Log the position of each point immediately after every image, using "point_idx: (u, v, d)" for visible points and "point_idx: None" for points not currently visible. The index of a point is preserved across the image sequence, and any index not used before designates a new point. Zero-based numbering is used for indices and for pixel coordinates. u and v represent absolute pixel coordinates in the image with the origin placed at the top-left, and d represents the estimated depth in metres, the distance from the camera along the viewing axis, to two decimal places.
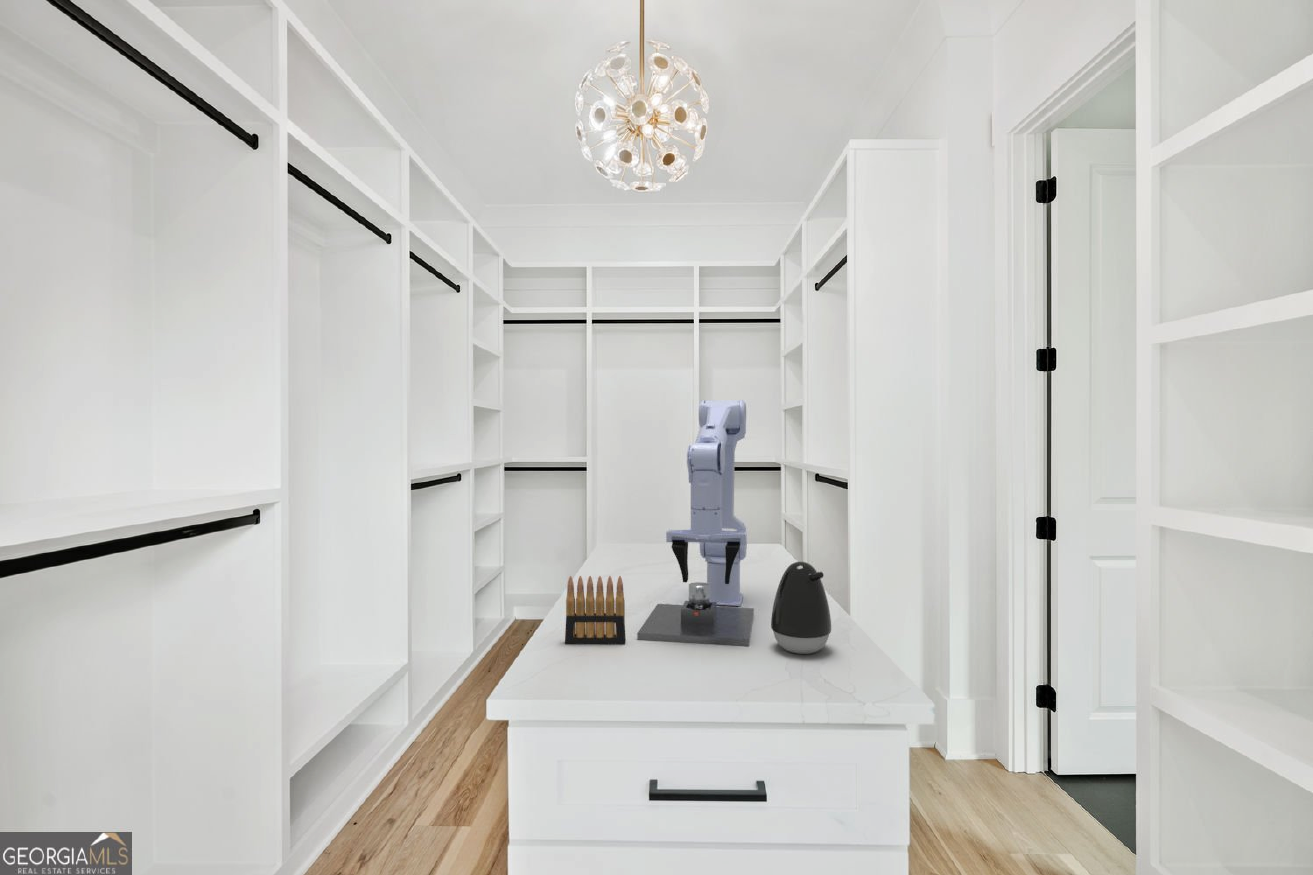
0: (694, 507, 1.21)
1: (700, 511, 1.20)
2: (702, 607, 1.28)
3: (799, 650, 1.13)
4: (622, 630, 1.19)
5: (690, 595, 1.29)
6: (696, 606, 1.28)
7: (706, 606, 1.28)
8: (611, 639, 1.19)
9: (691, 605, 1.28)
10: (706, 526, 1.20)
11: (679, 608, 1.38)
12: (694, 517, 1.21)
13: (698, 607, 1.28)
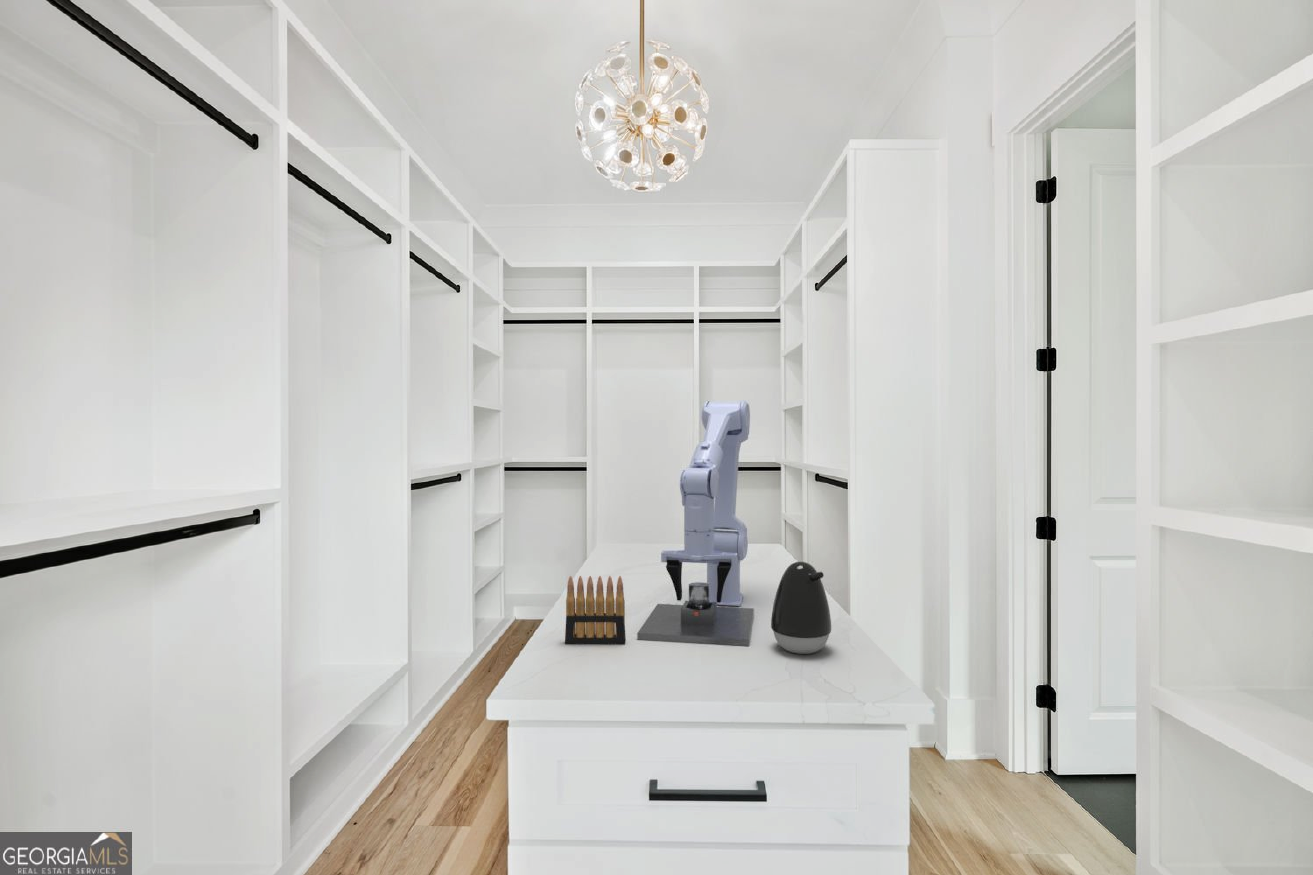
0: (686, 529, 1.28)
1: (693, 533, 1.27)
2: (702, 607, 1.28)
3: (799, 650, 1.13)
4: (622, 630, 1.19)
5: (690, 595, 1.29)
6: (696, 606, 1.28)
7: (706, 606, 1.28)
8: (611, 639, 1.19)
9: (691, 605, 1.28)
10: (699, 548, 1.27)
11: (679, 608, 1.38)
12: (688, 538, 1.28)
13: (698, 607, 1.28)
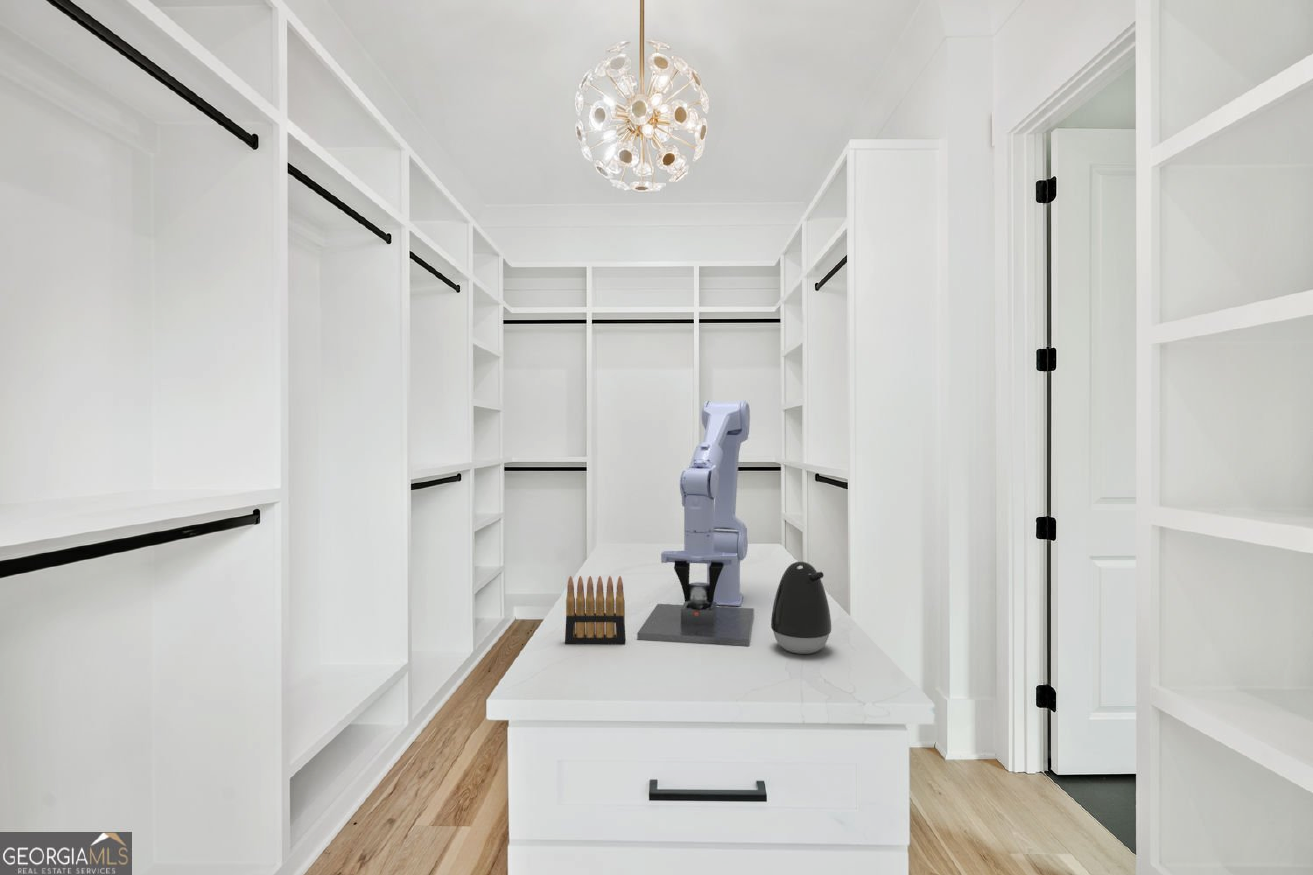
0: (686, 529, 1.28)
1: (693, 534, 1.27)
2: (702, 607, 1.28)
3: (799, 650, 1.13)
4: (622, 630, 1.19)
5: (690, 595, 1.29)
6: (696, 606, 1.28)
7: (706, 606, 1.28)
8: (611, 639, 1.19)
9: (691, 605, 1.28)
10: (699, 548, 1.27)
11: (679, 608, 1.38)
12: (688, 539, 1.28)
13: (698, 607, 1.28)
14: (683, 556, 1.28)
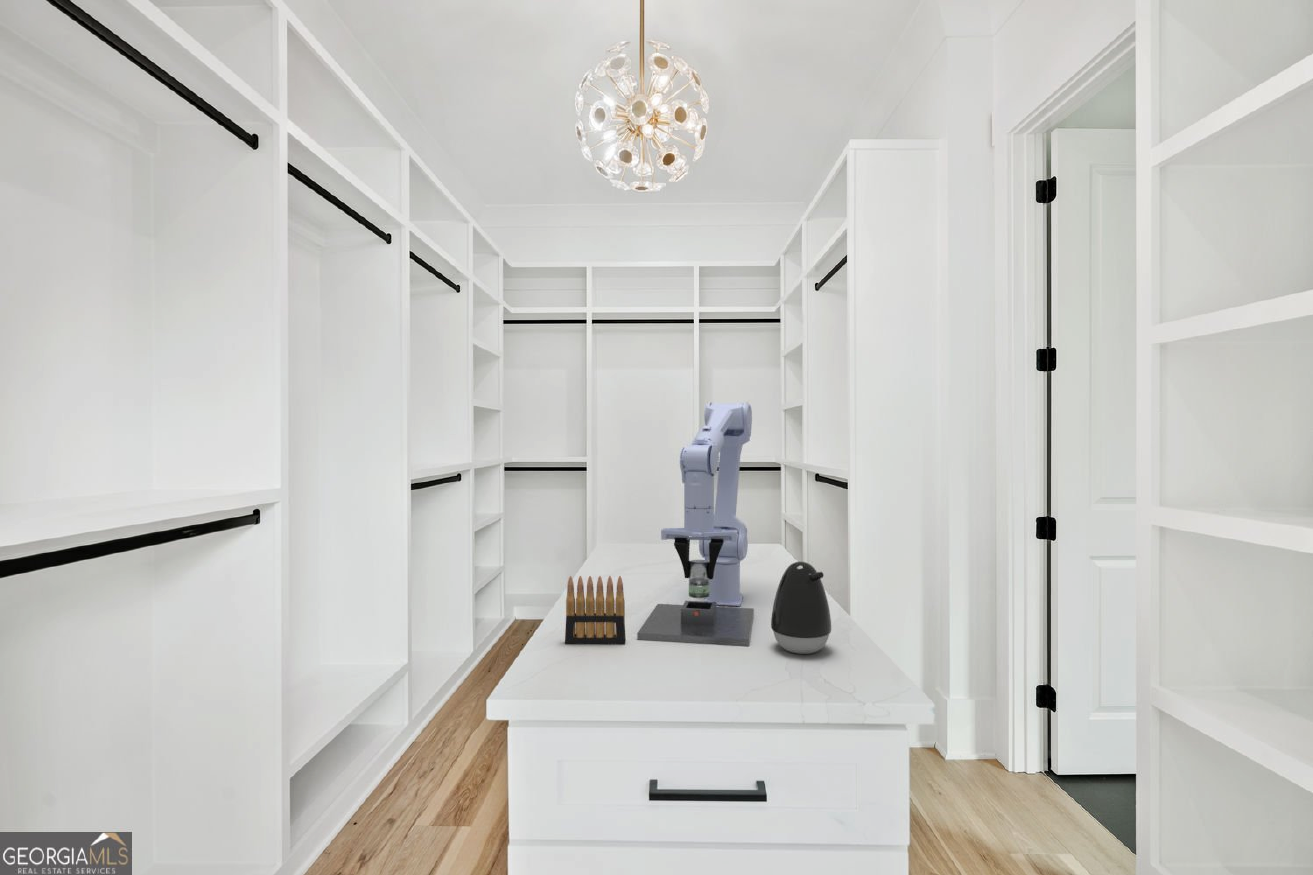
0: (686, 506, 1.28)
1: (693, 510, 1.27)
2: (702, 584, 1.28)
3: (799, 650, 1.13)
4: (622, 630, 1.19)
5: (690, 572, 1.29)
6: (696, 583, 1.28)
7: (706, 583, 1.28)
8: (611, 639, 1.19)
9: (691, 582, 1.28)
10: (699, 524, 1.26)
11: (679, 608, 1.38)
12: (688, 515, 1.27)
13: (698, 584, 1.28)
14: (683, 532, 1.28)
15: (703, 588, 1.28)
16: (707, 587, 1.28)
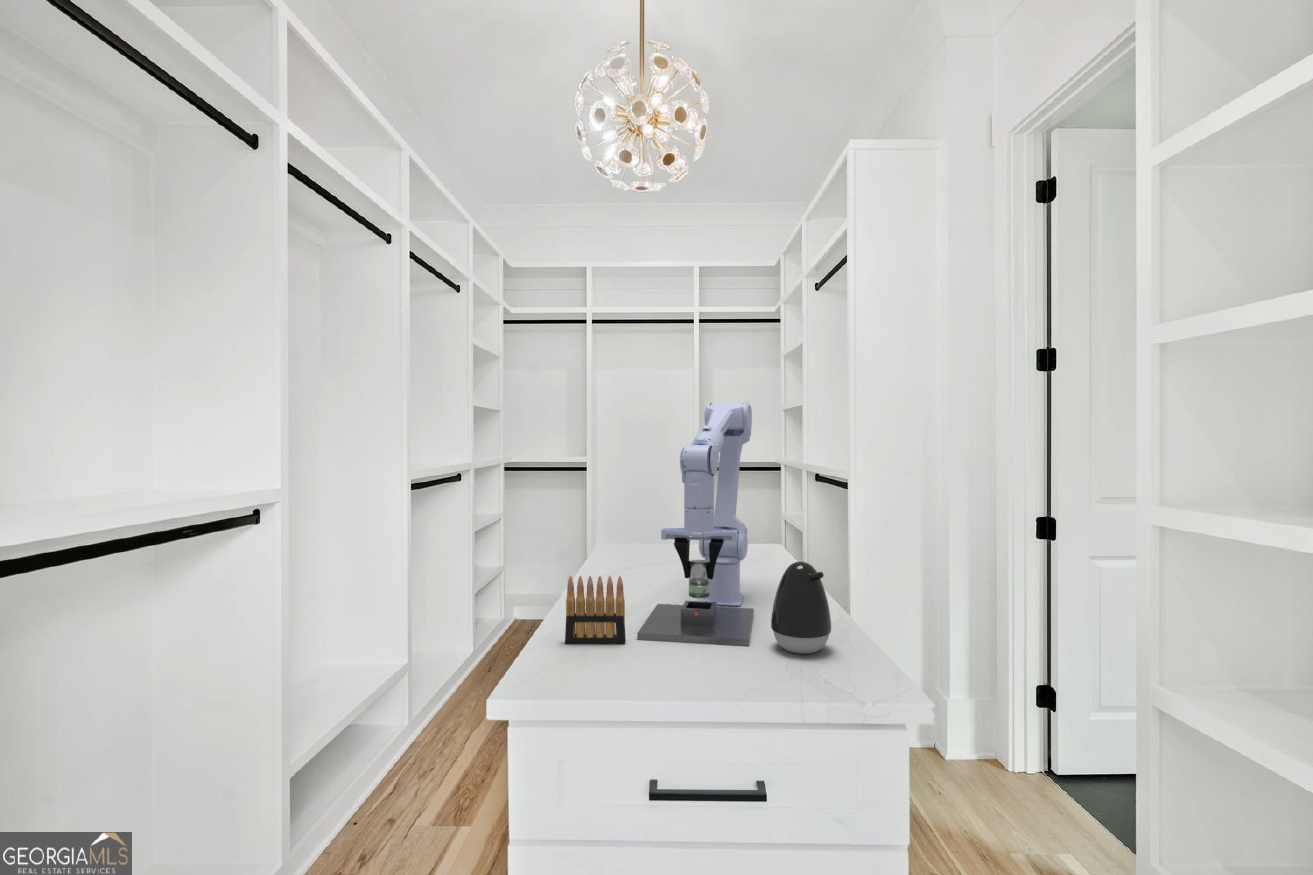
0: (686, 506, 1.28)
1: (693, 510, 1.27)
2: (702, 584, 1.28)
3: (799, 650, 1.13)
4: (622, 630, 1.19)
5: (690, 572, 1.29)
6: (696, 583, 1.28)
7: (706, 583, 1.28)
8: (611, 639, 1.19)
9: (691, 582, 1.28)
10: (699, 524, 1.26)
11: (679, 608, 1.38)
12: (688, 515, 1.27)
13: (698, 584, 1.28)
14: (683, 532, 1.28)
15: (703, 588, 1.28)
16: (707, 587, 1.28)
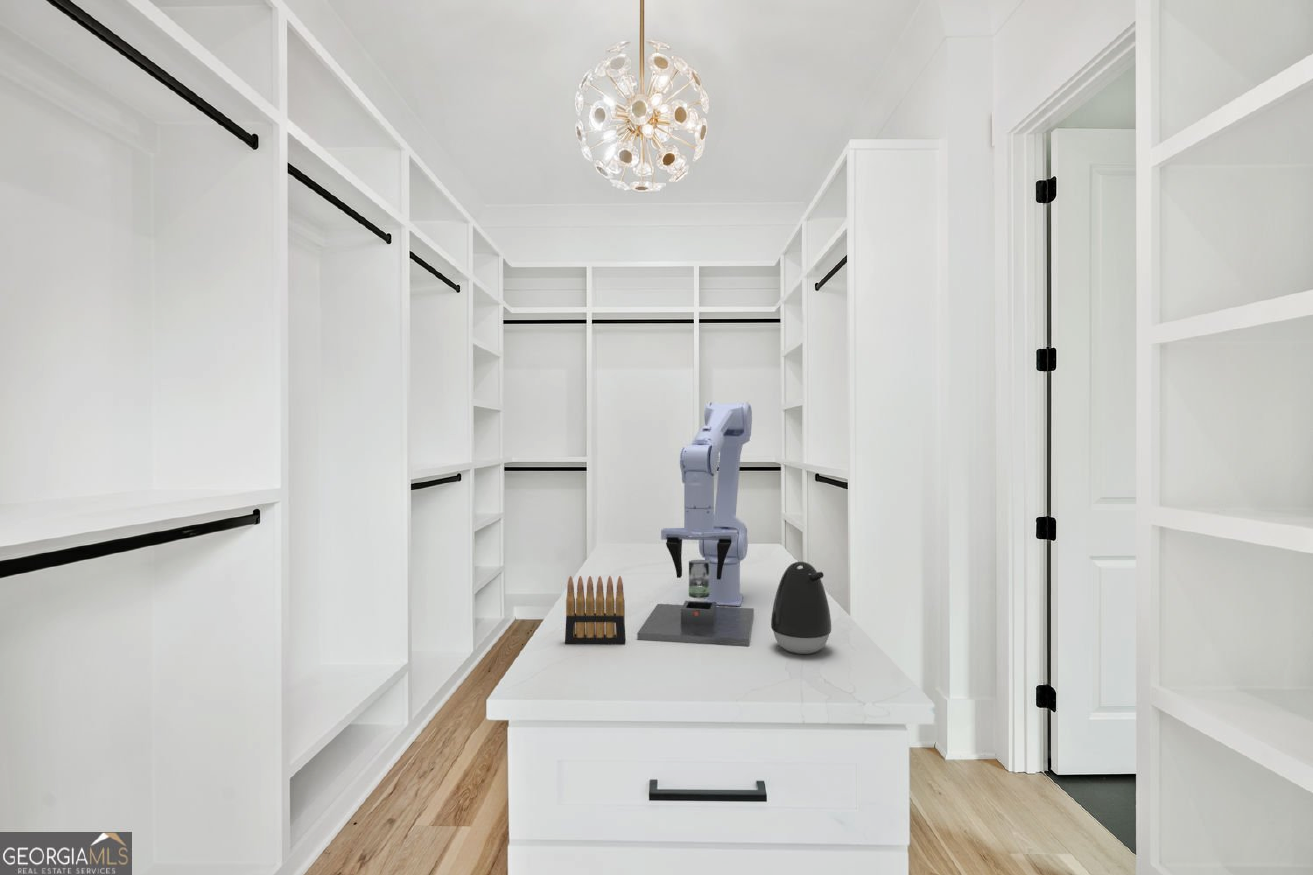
0: (686, 506, 1.28)
1: (693, 510, 1.27)
2: (702, 584, 1.28)
3: (799, 650, 1.13)
4: (622, 630, 1.19)
5: (690, 572, 1.29)
6: (696, 583, 1.28)
7: (706, 583, 1.28)
8: (611, 639, 1.19)
9: (691, 582, 1.28)
10: (699, 524, 1.26)
11: (679, 608, 1.38)
12: (688, 515, 1.27)
13: (698, 584, 1.28)
14: (683, 532, 1.28)
15: (703, 588, 1.28)
16: (707, 587, 1.28)
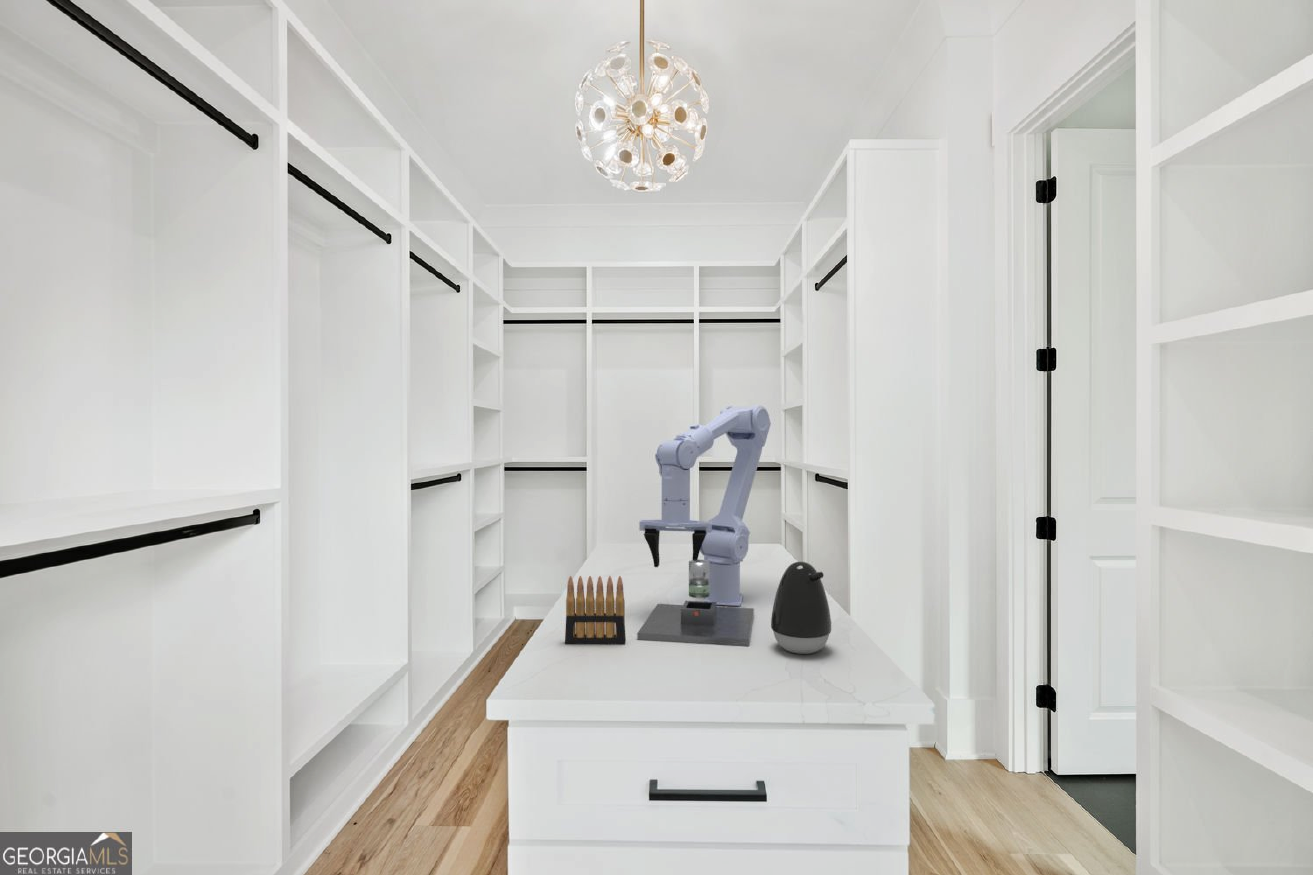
0: None
1: (670, 502, 1.33)
2: (702, 584, 1.28)
3: (799, 650, 1.13)
4: (622, 630, 1.19)
5: (690, 572, 1.29)
6: (696, 583, 1.28)
7: (706, 583, 1.28)
8: (611, 639, 1.19)
9: (691, 582, 1.28)
10: (675, 516, 1.33)
11: (679, 608, 1.38)
12: (665, 507, 1.34)
13: (698, 584, 1.28)
14: (660, 524, 1.34)
15: (703, 588, 1.28)
16: (707, 587, 1.28)
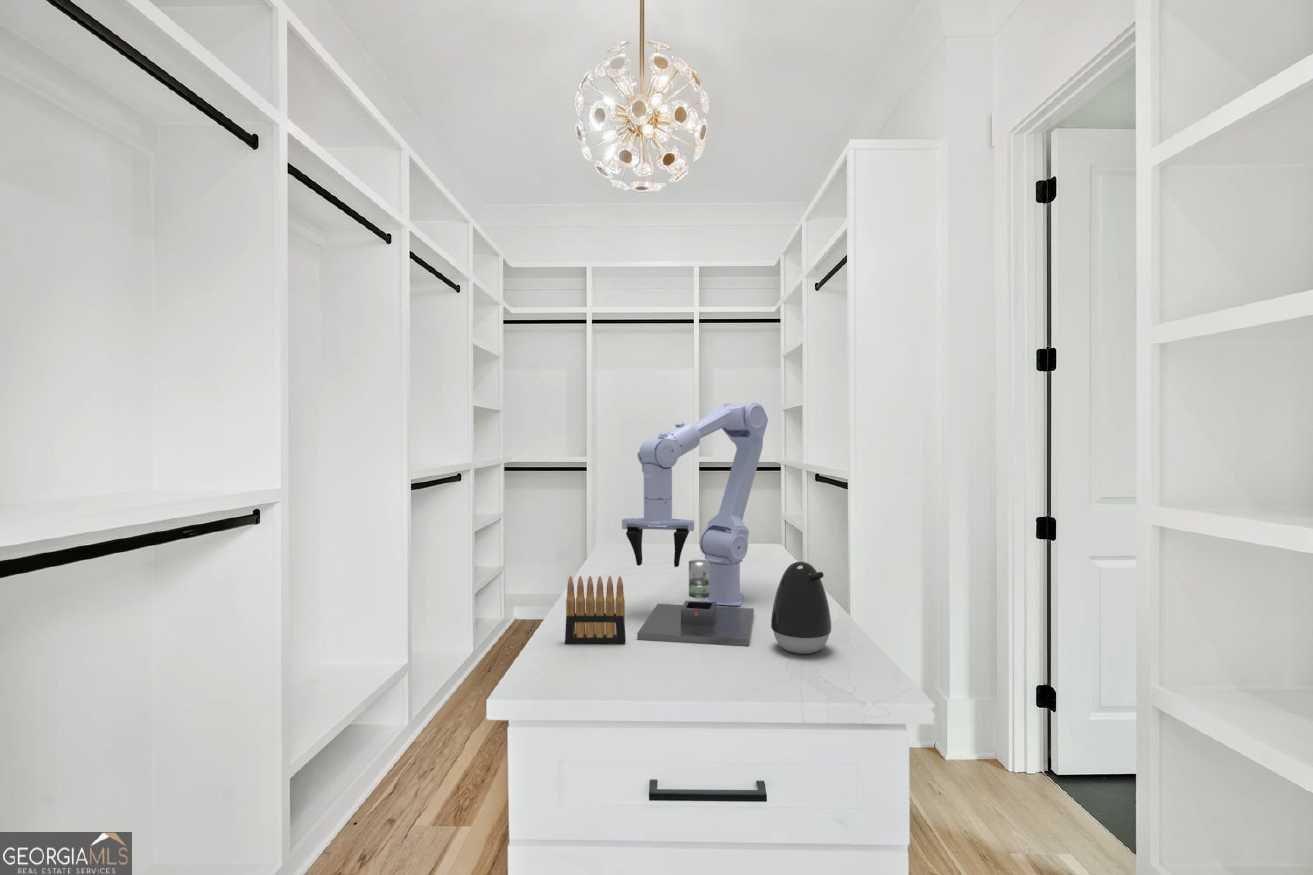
0: None
1: (651, 500, 1.33)
2: (702, 584, 1.28)
3: (799, 650, 1.13)
4: (622, 630, 1.19)
5: (690, 572, 1.29)
6: (696, 583, 1.28)
7: (706, 583, 1.28)
8: (611, 639, 1.19)
9: (691, 582, 1.28)
10: (657, 514, 1.33)
11: (679, 608, 1.38)
12: (646, 506, 1.34)
13: (698, 584, 1.28)
14: (642, 522, 1.34)
15: (703, 588, 1.28)
16: (707, 587, 1.28)
